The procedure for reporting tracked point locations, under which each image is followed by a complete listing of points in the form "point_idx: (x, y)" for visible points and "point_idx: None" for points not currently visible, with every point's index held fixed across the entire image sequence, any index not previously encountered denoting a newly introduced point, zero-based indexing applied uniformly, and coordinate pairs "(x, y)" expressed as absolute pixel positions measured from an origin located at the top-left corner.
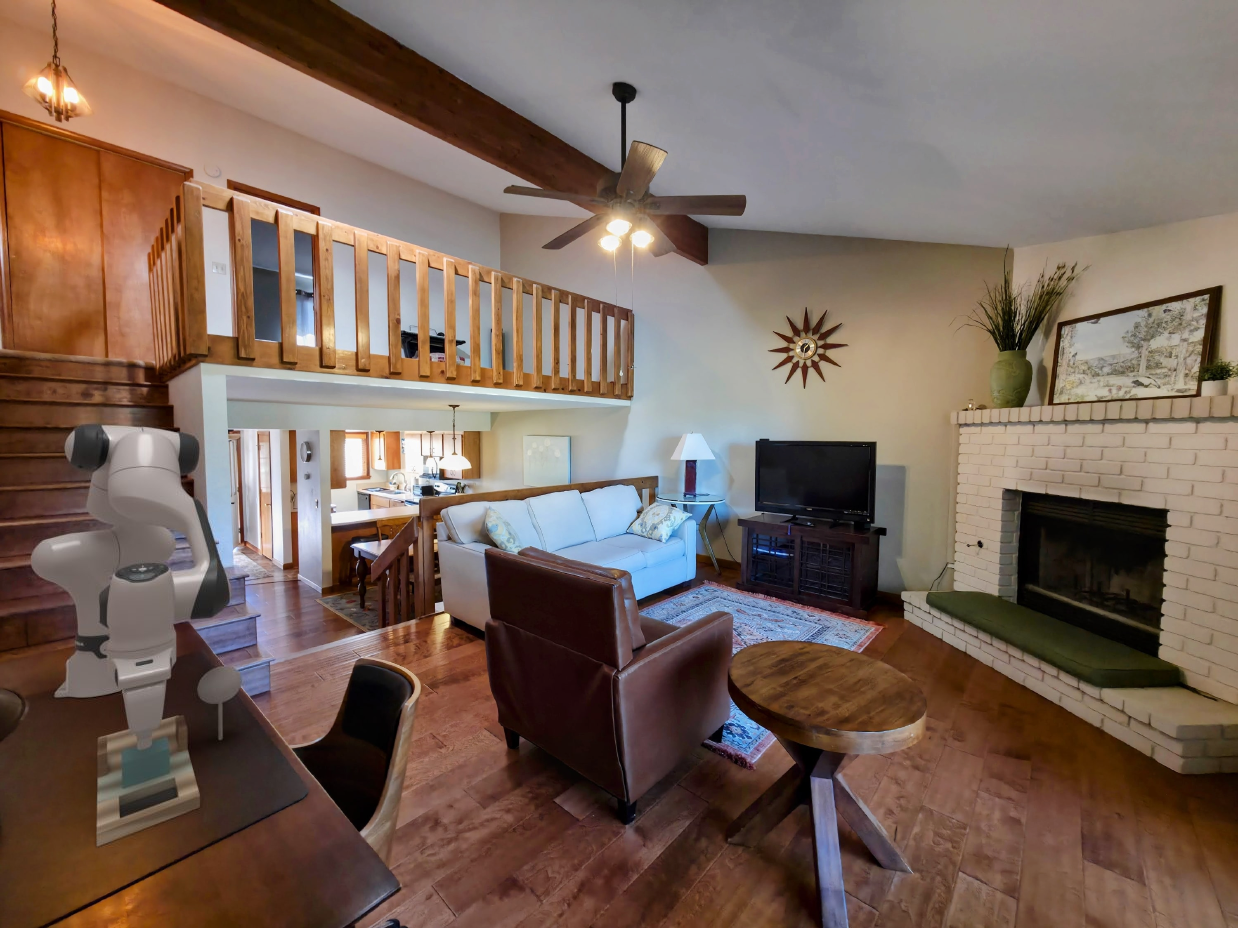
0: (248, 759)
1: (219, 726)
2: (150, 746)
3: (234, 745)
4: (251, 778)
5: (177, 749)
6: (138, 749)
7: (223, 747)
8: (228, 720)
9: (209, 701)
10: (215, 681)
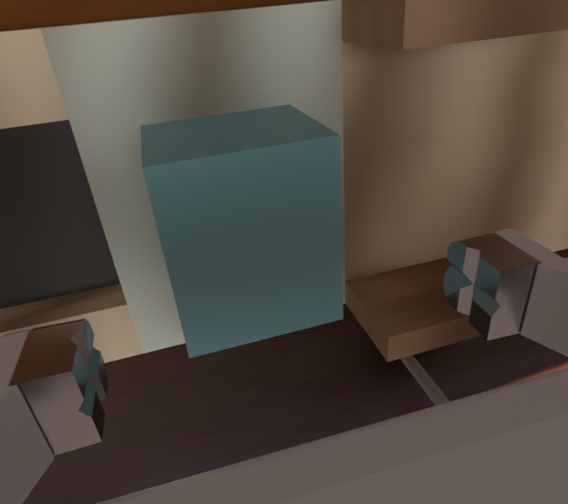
0: (196, 438)
1: (420, 378)
2: (281, 269)
3: (322, 387)
4: (54, 469)
5: (371, 271)
6: (4, 336)
7: (333, 362)
8: (504, 343)
9: None
10: None
